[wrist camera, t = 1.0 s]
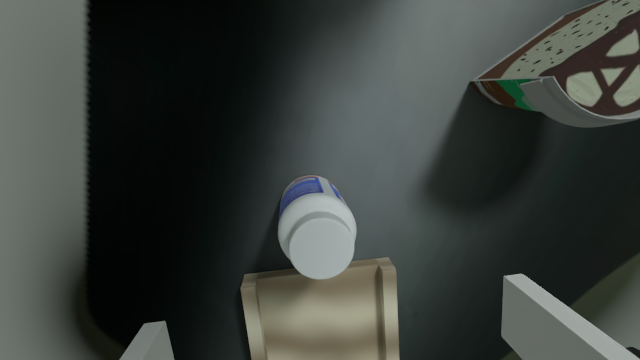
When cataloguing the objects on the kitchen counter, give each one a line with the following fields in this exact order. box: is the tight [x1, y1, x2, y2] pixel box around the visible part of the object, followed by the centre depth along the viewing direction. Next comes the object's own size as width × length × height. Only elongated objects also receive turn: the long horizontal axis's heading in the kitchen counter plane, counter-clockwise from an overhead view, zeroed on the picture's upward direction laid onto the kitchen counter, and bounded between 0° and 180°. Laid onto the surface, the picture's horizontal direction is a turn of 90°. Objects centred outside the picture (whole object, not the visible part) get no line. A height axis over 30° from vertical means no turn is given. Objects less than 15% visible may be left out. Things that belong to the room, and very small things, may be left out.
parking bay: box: [240, 257, 399, 360], centre depth 30 cm, size 15×13×4 cm
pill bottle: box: [278, 175, 356, 280], centre depth 24 cm, size 5×5×10 cm
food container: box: [470, 0, 640, 128], centre depth 23 cm, size 12×6×10 cm, turn 125°
